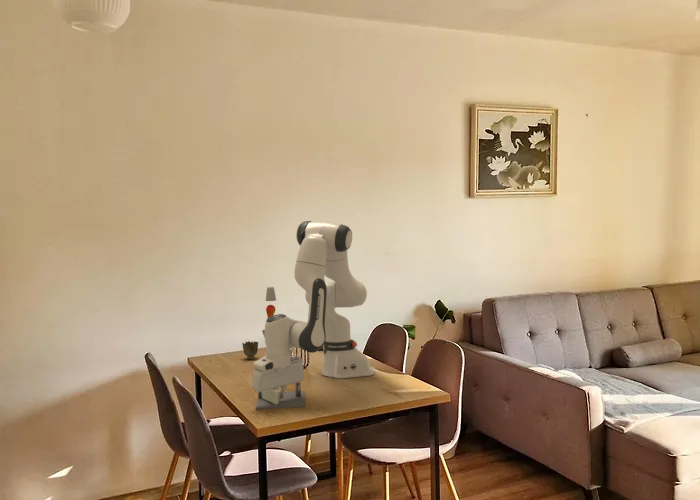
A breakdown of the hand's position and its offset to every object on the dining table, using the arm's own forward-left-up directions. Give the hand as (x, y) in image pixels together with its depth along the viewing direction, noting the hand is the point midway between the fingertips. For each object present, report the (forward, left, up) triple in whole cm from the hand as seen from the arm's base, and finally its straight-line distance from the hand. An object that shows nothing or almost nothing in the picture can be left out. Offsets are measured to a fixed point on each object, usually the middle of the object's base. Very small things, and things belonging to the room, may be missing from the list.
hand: (280, 398), depth 223 cm
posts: (0, -6, -2) cm, 6 cm away
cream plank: (+4, 0, -1) cm, 4 cm away
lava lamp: (+6, -64, -2) cm, 64 cm away
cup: (+17, -73, -2) cm, 75 cm away
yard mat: (0, -3, -2) cm, 4 cm away
